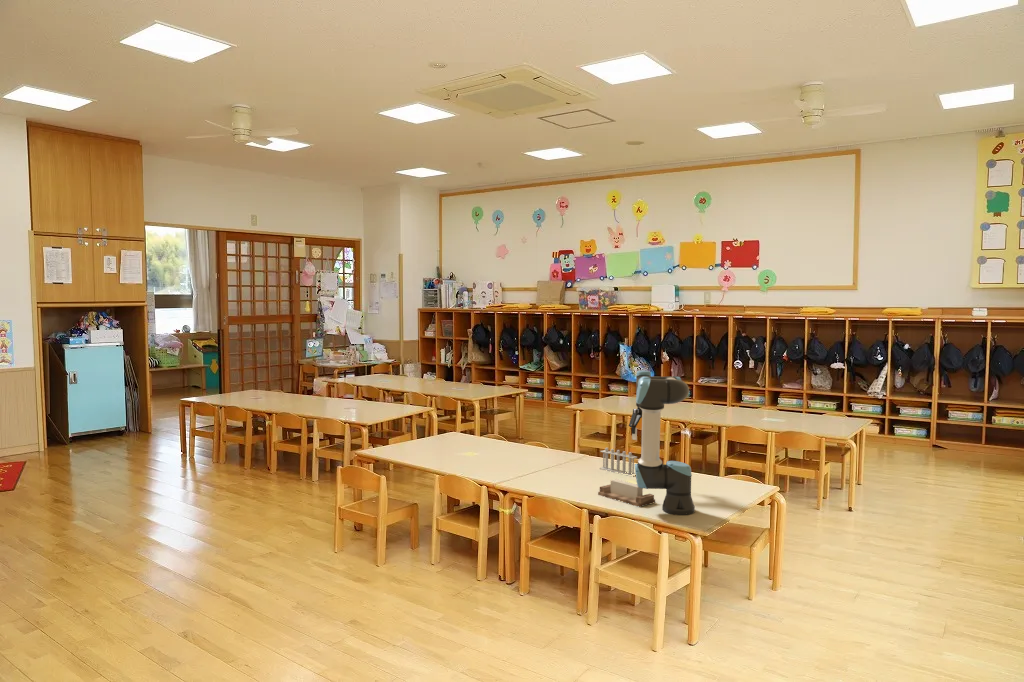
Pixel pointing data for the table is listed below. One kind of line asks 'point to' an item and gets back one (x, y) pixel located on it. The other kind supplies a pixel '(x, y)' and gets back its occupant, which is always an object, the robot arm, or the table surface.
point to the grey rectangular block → (626, 489)
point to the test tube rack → (618, 461)
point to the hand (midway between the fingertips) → (642, 438)
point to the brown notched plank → (638, 502)
